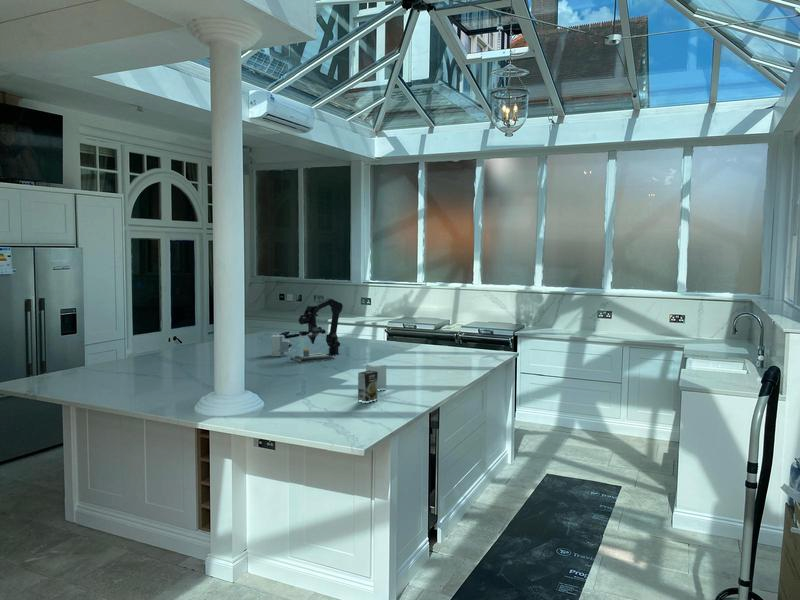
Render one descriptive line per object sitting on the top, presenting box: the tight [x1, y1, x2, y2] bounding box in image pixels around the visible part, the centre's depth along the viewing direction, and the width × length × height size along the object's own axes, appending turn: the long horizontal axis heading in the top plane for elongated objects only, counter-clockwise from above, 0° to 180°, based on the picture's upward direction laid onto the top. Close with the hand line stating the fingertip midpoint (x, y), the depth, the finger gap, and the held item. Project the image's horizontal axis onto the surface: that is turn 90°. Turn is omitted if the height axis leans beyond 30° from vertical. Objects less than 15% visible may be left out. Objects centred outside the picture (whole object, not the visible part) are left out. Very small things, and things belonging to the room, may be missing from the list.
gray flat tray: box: [293, 355, 332, 361], centre depth 458 cm, size 23×14×1 cm, turn 120°
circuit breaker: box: [270, 334, 293, 357], centre depth 471 cm, size 8×14×15 cm, turn 89°
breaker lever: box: [302, 348, 310, 356], centre depth 455 cm, size 3×3×6 cm
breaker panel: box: [290, 352, 336, 364], centre depth 458 cm, size 26×20×3 cm
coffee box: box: [357, 370, 379, 401], centre depth 339 cm, size 9×6×16 cm
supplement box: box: [365, 362, 387, 389], centre depth 365 cm, size 9×9×15 cm
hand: (312, 344), depth 460 cm, fingers closed
